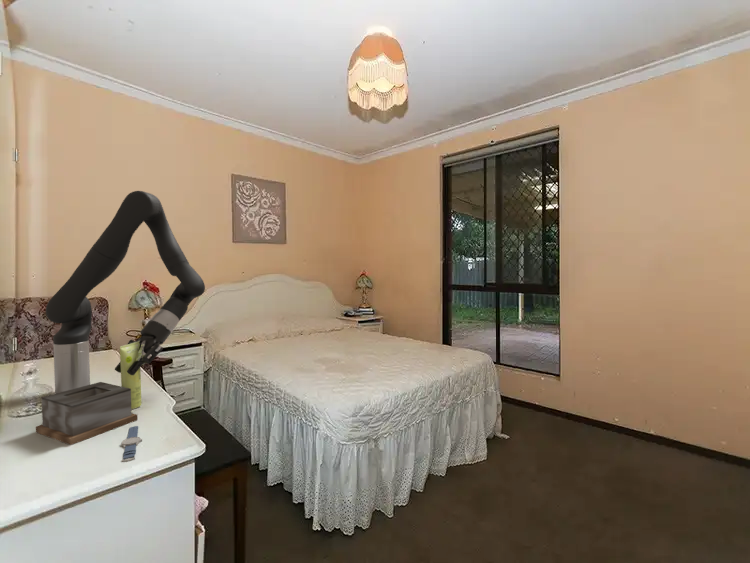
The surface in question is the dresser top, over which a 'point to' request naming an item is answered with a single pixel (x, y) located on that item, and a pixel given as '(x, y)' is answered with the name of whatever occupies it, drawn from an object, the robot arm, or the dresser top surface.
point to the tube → (129, 381)
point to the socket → (85, 412)
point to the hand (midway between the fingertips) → (123, 372)
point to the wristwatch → (131, 444)
